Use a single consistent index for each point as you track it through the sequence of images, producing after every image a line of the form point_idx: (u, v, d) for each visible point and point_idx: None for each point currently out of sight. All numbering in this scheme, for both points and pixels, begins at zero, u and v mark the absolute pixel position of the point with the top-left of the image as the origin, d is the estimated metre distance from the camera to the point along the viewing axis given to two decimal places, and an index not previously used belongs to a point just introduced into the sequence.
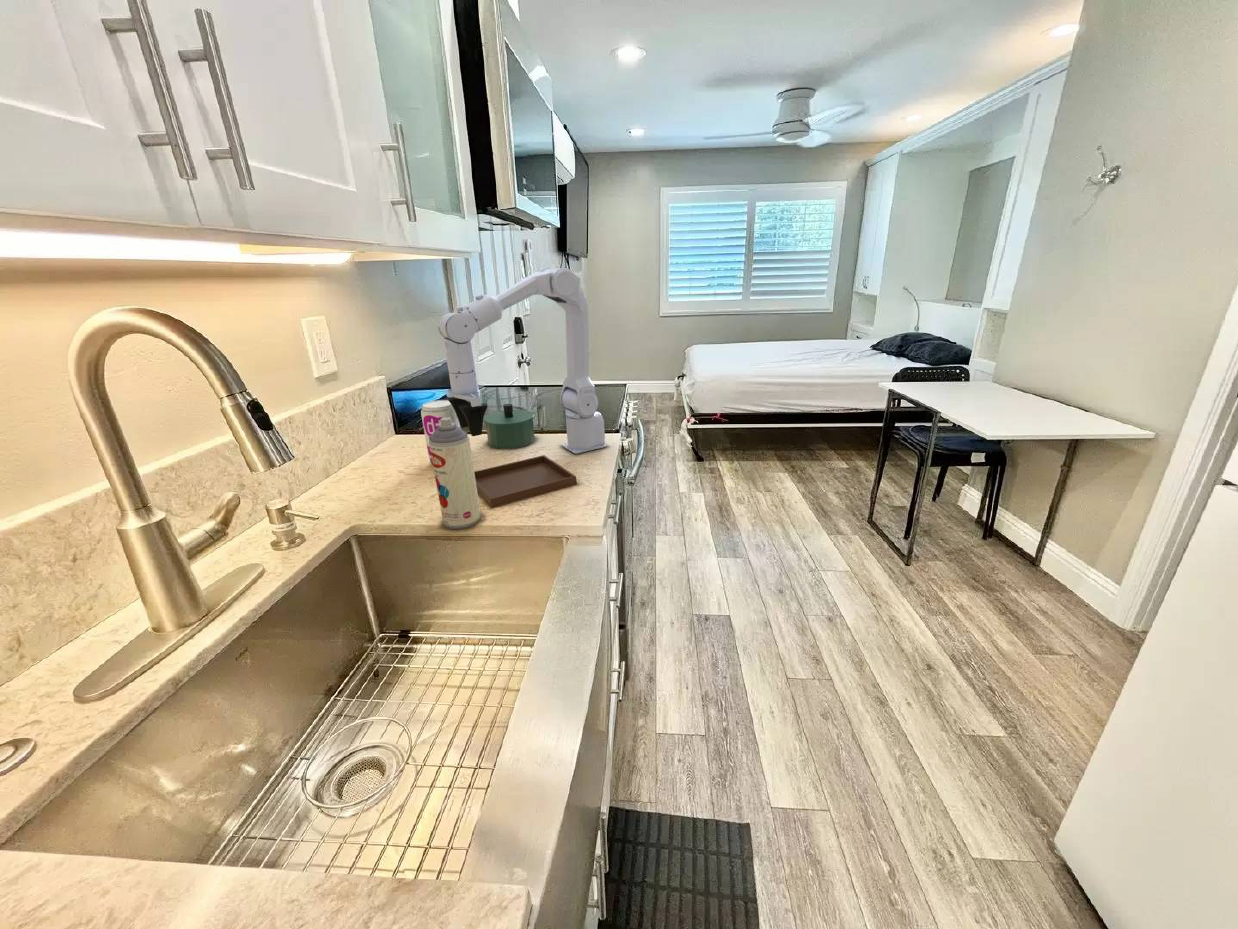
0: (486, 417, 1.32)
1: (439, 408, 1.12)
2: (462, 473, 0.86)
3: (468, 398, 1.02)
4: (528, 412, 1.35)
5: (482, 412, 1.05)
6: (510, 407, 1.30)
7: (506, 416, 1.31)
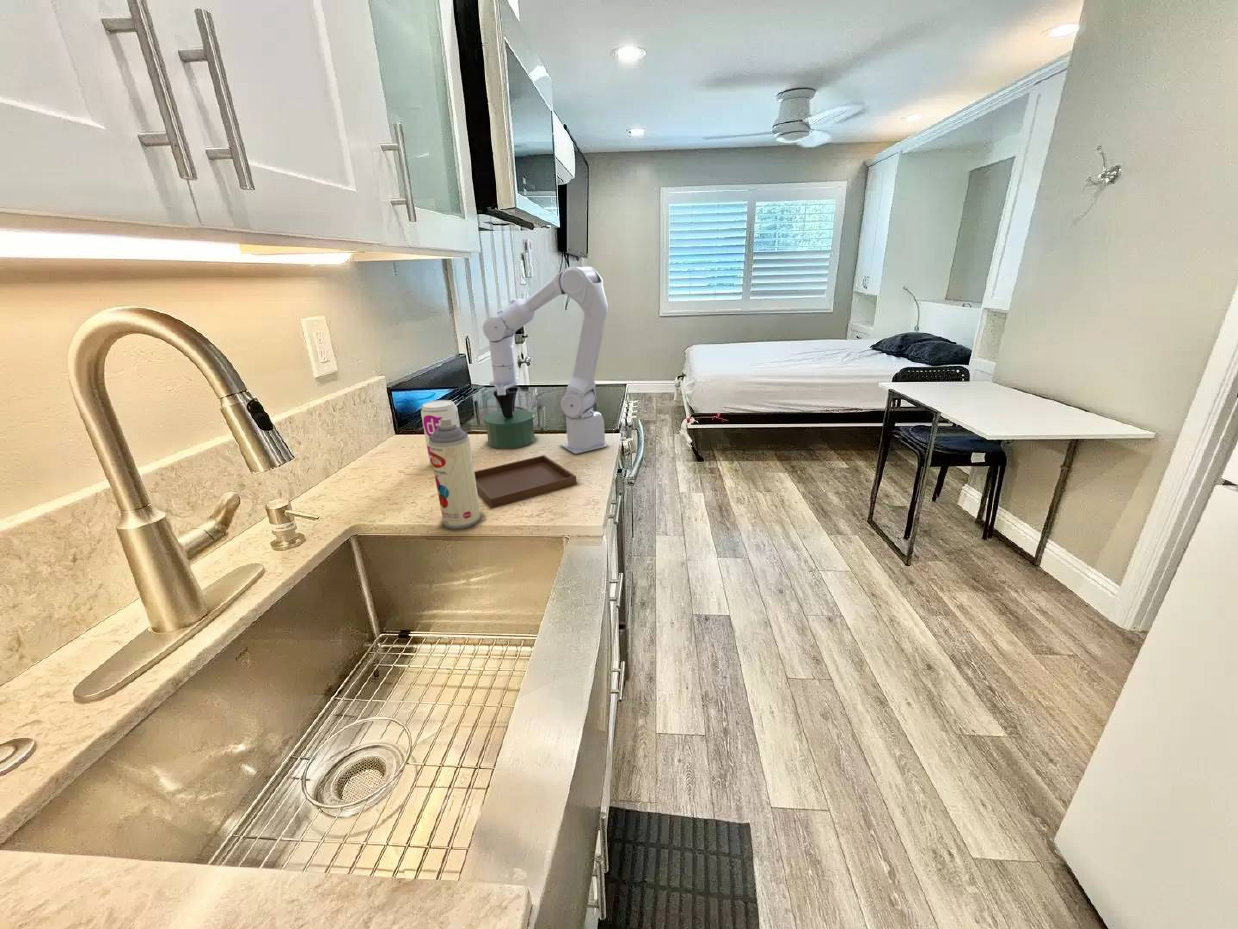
0: (486, 417, 1.32)
1: (439, 408, 1.12)
2: (462, 473, 0.86)
3: (497, 387, 1.23)
4: (528, 412, 1.35)
5: (510, 398, 1.27)
6: None
7: None
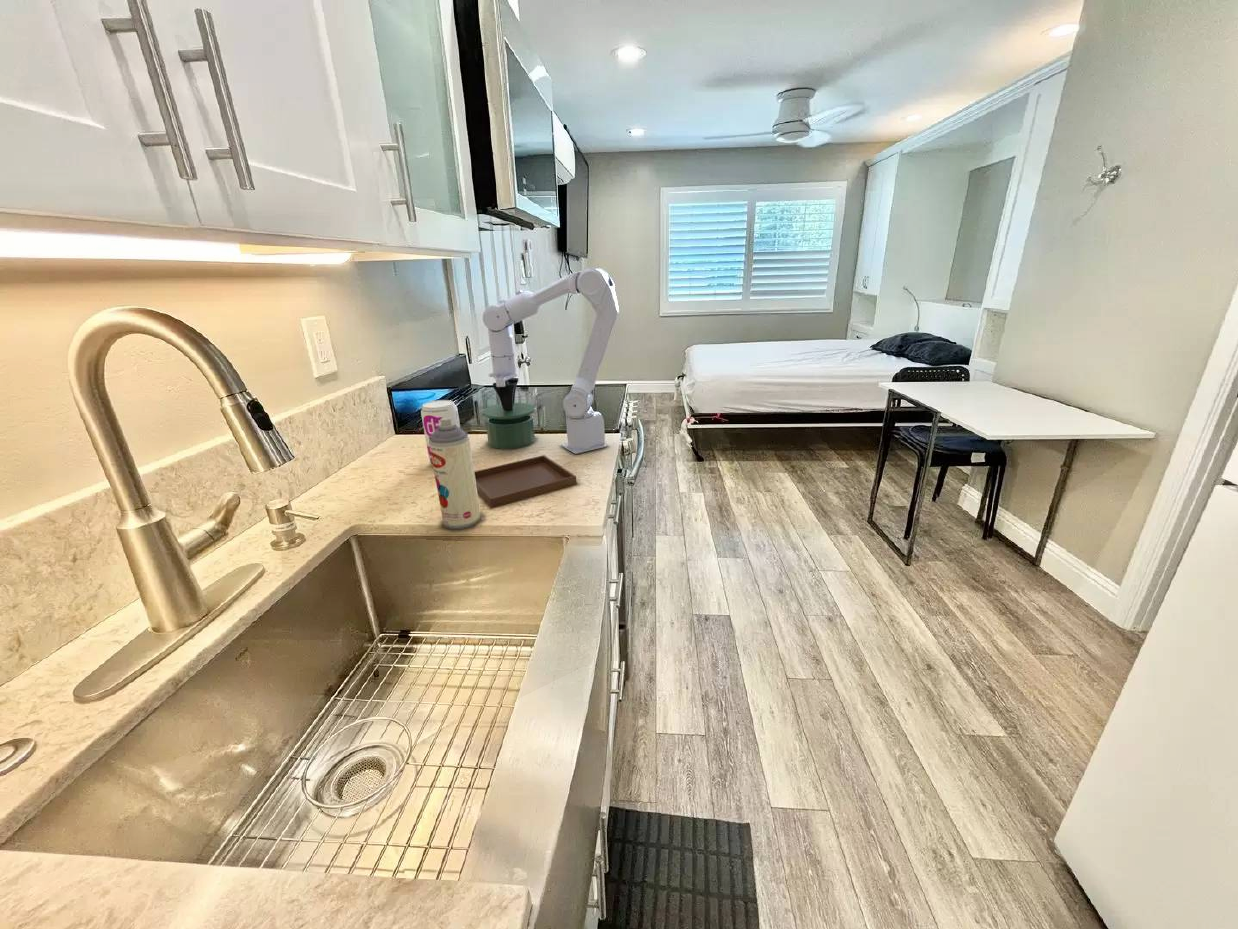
0: (485, 410, 1.27)
1: (439, 408, 1.12)
2: (462, 473, 0.86)
3: (496, 379, 1.19)
4: (529, 405, 1.31)
5: (510, 390, 1.23)
6: None
7: None
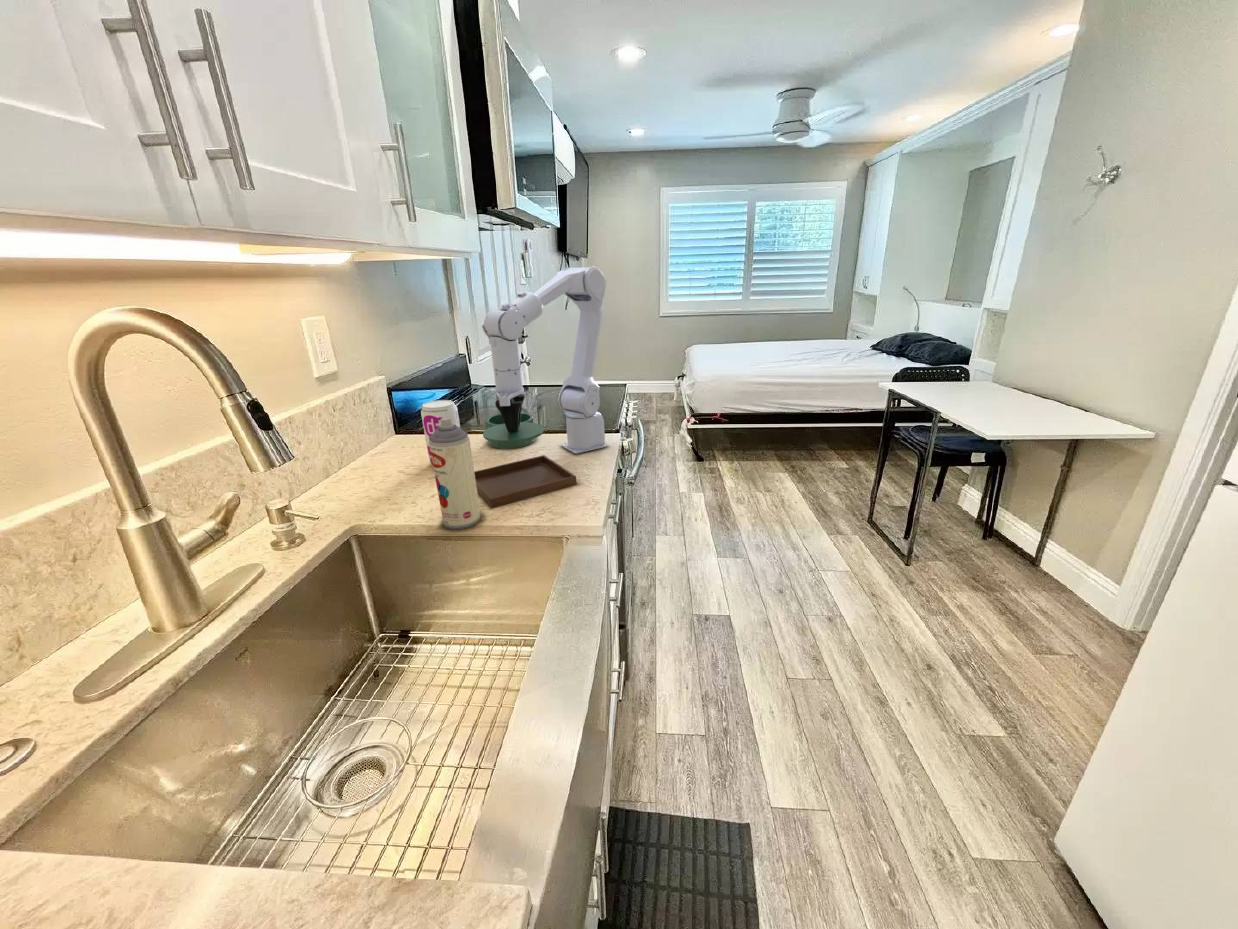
0: (486, 431, 1.10)
1: (439, 408, 1.12)
2: (462, 473, 0.86)
3: None
4: (536, 425, 1.13)
5: (515, 410, 1.05)
6: None
7: None
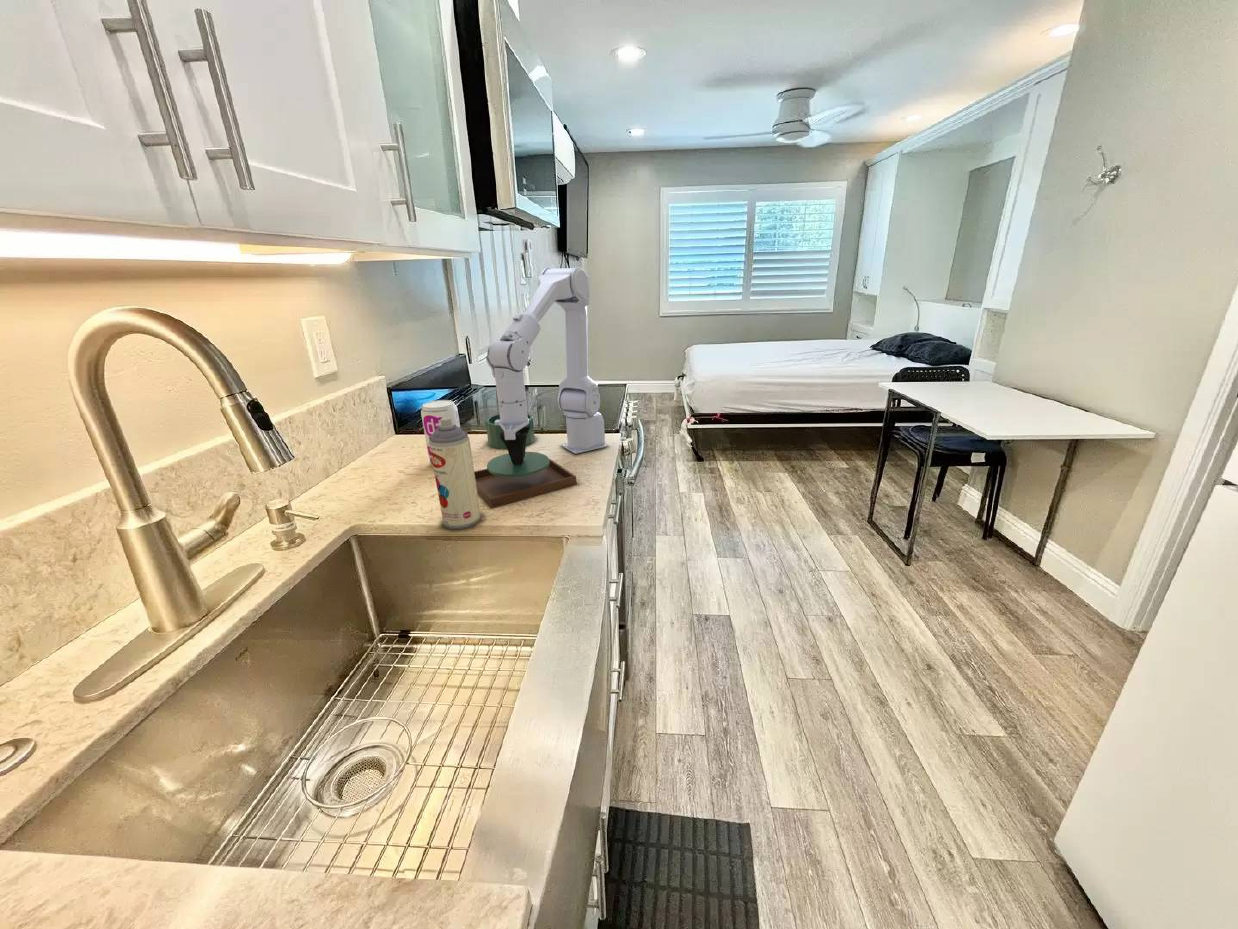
0: (490, 463, 1.06)
1: (439, 408, 1.12)
2: (462, 473, 0.86)
3: (504, 430, 0.98)
4: (541, 456, 1.10)
5: (521, 442, 1.01)
6: None
7: None
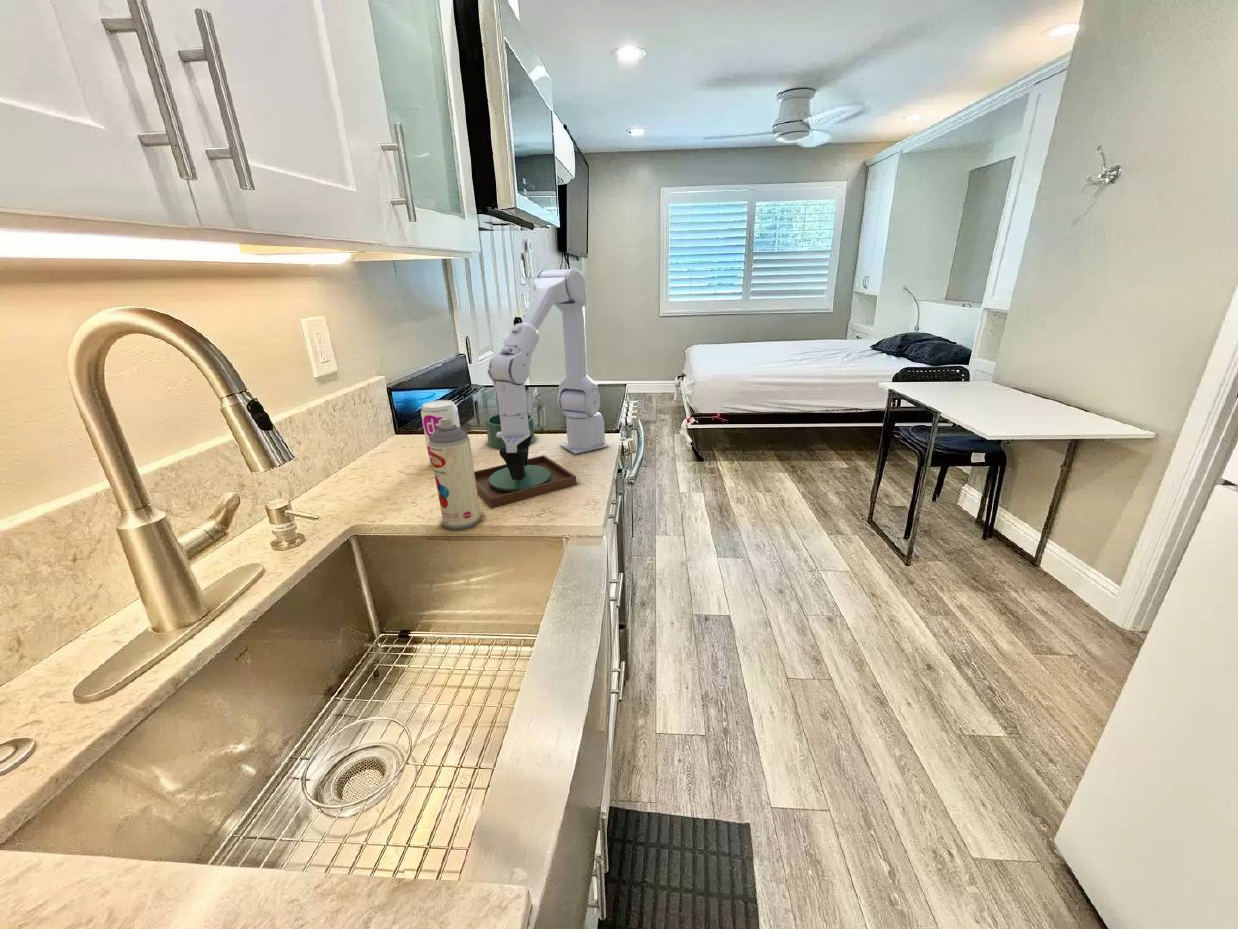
0: (492, 477, 1.07)
1: (439, 408, 1.12)
2: (462, 473, 0.86)
3: (505, 443, 0.99)
4: (543, 469, 1.11)
5: (521, 458, 1.00)
6: None
7: None
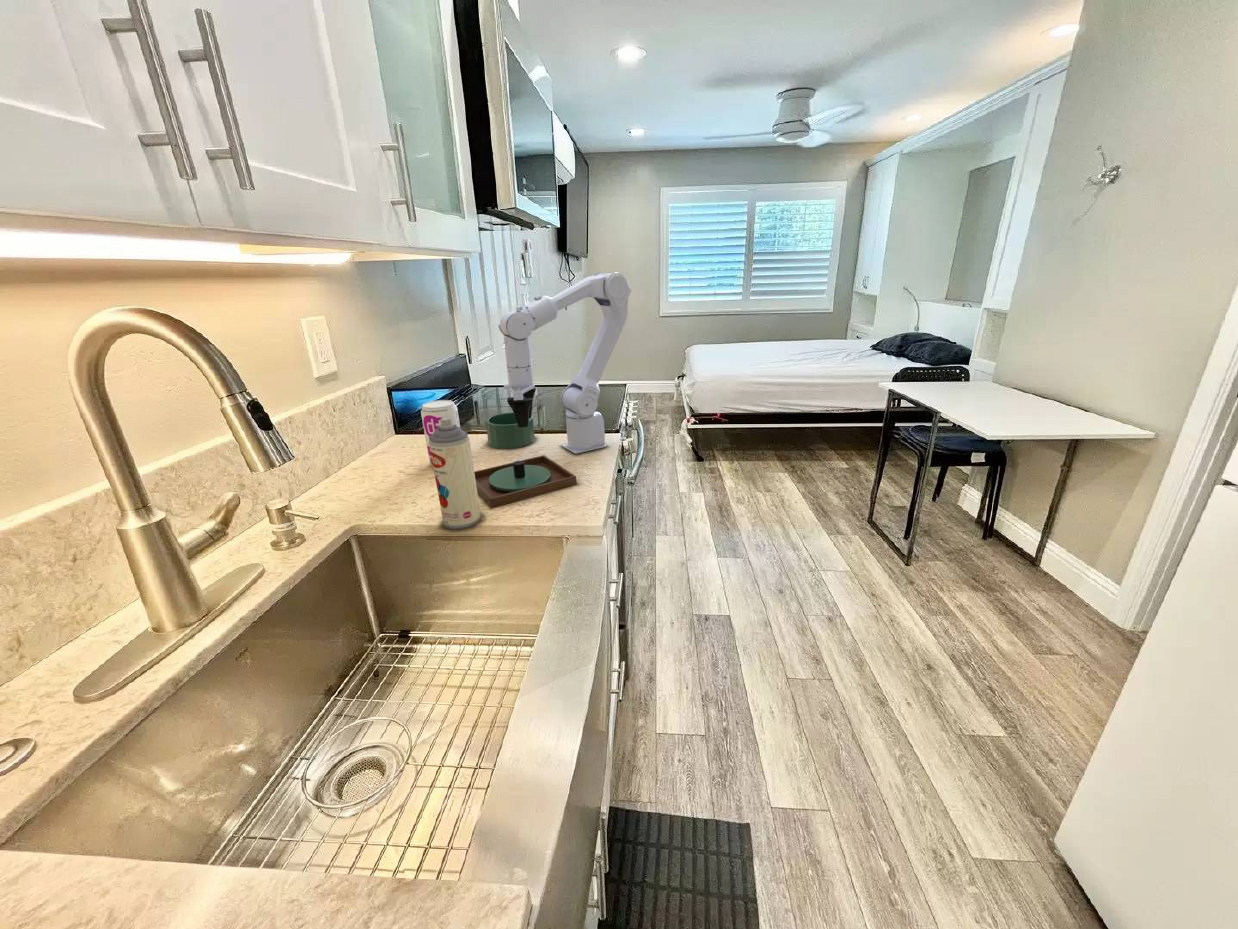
0: (492, 477, 1.07)
1: (439, 408, 1.12)
2: (462, 473, 0.86)
3: (513, 391, 1.10)
4: (543, 469, 1.11)
5: (526, 406, 1.12)
6: (521, 466, 1.06)
7: (516, 476, 1.07)
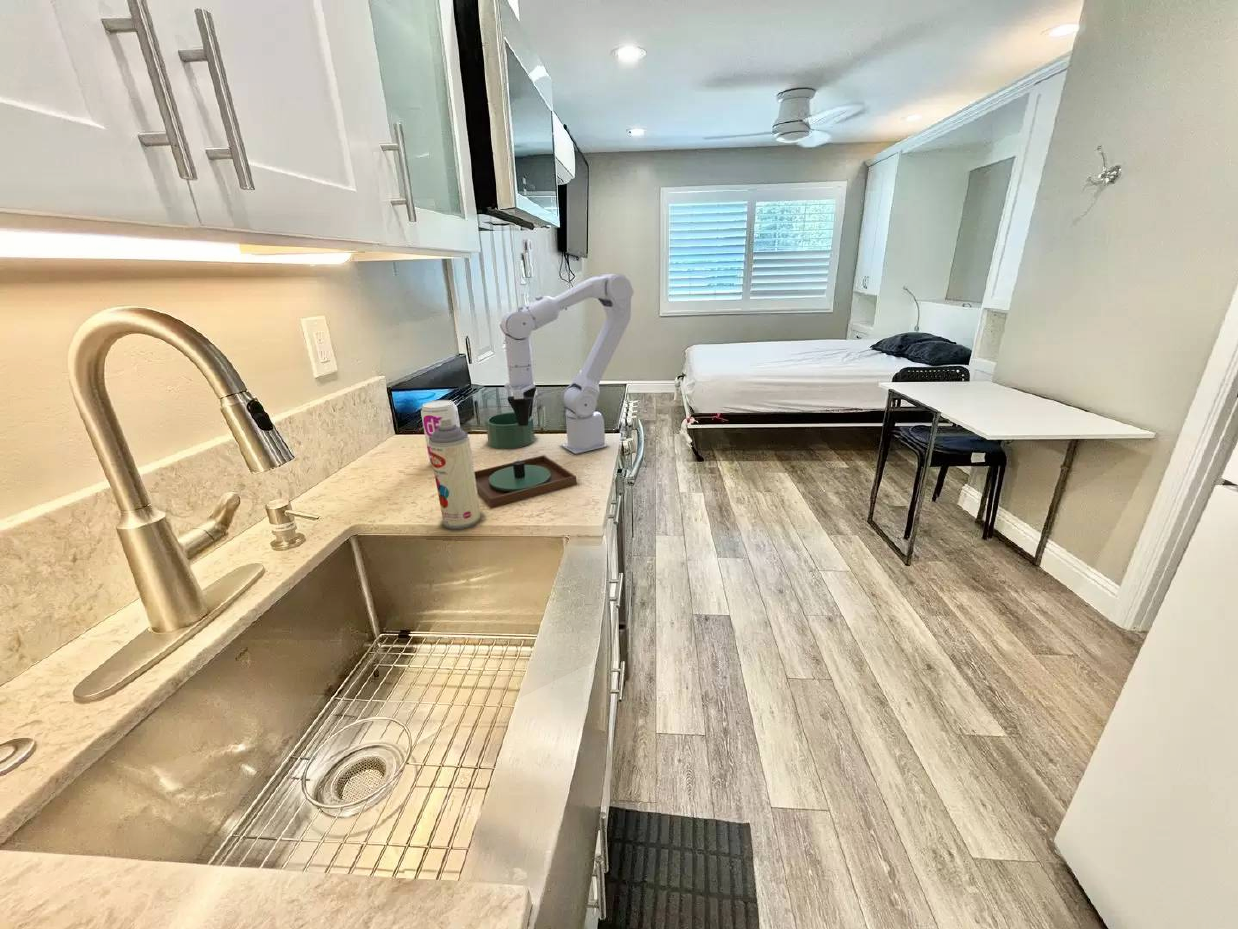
0: (492, 477, 1.07)
1: (439, 408, 1.12)
2: (462, 473, 0.86)
3: (513, 390, 1.11)
4: (543, 469, 1.11)
5: (526, 405, 1.13)
6: (521, 466, 1.06)
7: (516, 476, 1.07)
